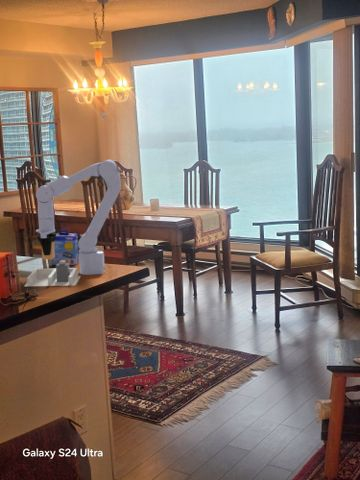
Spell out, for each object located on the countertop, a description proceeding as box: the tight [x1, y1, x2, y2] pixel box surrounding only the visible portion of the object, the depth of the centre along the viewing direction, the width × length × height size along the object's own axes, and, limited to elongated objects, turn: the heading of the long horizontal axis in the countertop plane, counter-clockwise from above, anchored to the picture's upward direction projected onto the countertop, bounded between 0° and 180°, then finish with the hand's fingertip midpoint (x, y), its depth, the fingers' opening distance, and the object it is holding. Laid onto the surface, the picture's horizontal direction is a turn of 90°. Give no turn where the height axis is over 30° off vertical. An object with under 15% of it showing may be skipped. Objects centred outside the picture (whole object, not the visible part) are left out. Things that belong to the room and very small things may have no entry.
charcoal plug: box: [55, 260, 70, 282], centre depth 228 cm, size 4×4×7 cm
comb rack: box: [23, 267, 82, 287], centre depth 228 cm, size 18×14×4 cm
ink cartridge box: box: [52, 229, 79, 266], centre depth 259 cm, size 10×6×14 cm, turn 87°
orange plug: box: [40, 241, 55, 260], centre depth 238 cm, size 4×4×7 cm
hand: (48, 253), depth 238 cm, fingers closed on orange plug, 4 cm apart
